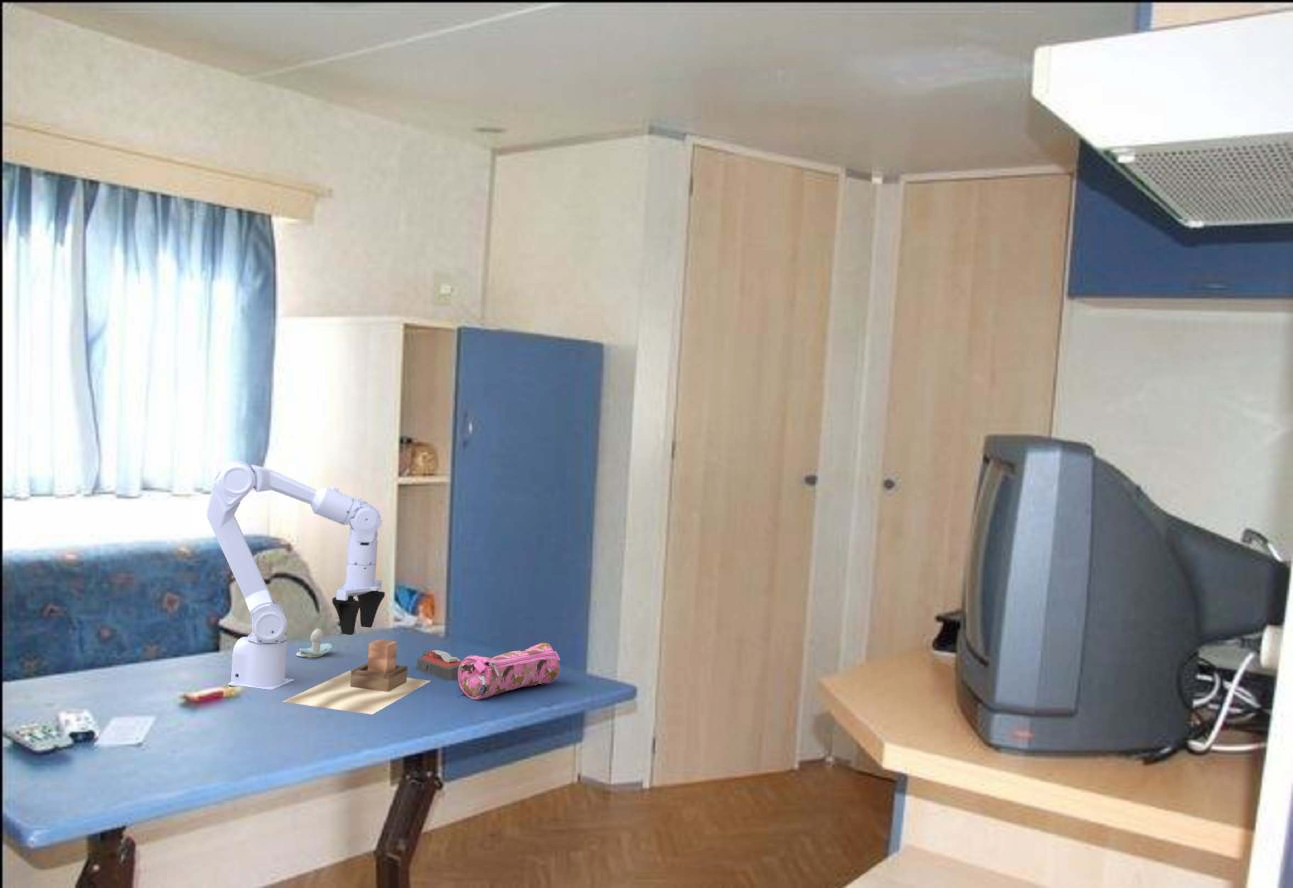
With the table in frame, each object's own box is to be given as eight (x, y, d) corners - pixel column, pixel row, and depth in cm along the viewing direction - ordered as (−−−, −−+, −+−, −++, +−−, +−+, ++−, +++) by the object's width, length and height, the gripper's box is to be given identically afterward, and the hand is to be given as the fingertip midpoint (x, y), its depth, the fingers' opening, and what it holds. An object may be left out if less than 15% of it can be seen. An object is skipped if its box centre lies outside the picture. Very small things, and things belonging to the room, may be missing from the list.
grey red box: (484, 677, 216) (427, 658, 229) (486, 657, 216) (428, 638, 229) (451, 684, 209) (394, 663, 222) (452, 663, 209) (395, 643, 222)
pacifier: (289, 656, 222) (308, 661, 219) (290, 628, 222) (309, 631, 218) (316, 651, 228) (335, 655, 225) (317, 623, 228) (335, 627, 225)
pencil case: (483, 706, 195) (486, 660, 194) (452, 695, 201) (455, 650, 200) (563, 688, 211) (566, 646, 211) (532, 678, 217) (535, 637, 217)
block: (367, 673, 200) (369, 643, 200) (377, 669, 204) (379, 639, 204) (385, 676, 199) (387, 645, 199) (395, 671, 203) (397, 641, 203)
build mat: (282, 704, 187) (283, 684, 186) (350, 672, 211) (351, 654, 211) (372, 717, 183) (373, 696, 183) (431, 683, 207) (432, 665, 207)
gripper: (361, 569, 196) (357, 639, 197) (396, 560, 211) (392, 626, 211) (328, 566, 198) (324, 635, 198) (365, 557, 212) (361, 622, 212)
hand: (357, 630), depth 205 cm, fingers open, 7 cm apart
